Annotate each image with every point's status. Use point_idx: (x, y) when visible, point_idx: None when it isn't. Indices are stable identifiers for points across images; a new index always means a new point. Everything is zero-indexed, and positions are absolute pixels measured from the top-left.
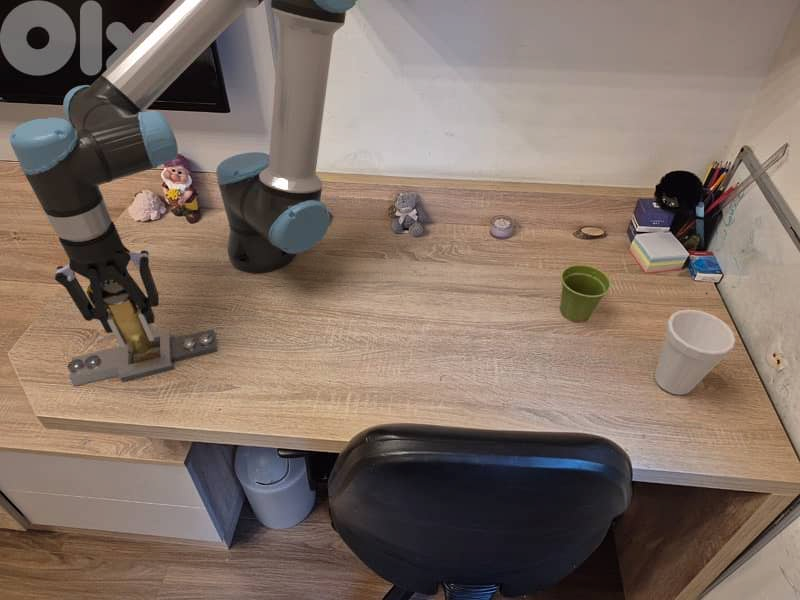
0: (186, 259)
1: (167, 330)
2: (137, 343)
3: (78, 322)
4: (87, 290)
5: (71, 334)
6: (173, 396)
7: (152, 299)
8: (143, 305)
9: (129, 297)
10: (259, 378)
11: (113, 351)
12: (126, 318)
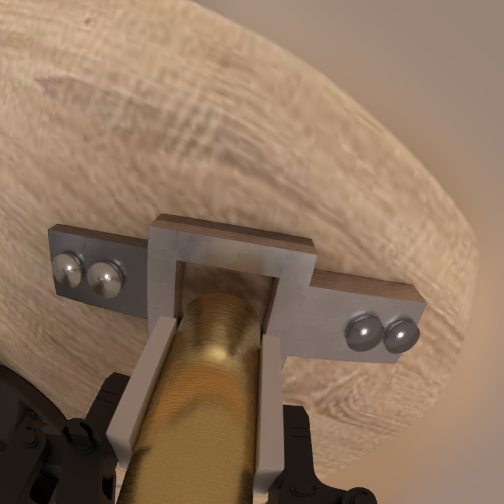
0: None
1: None
2: (214, 325)
3: (339, 432)
4: None
5: (360, 414)
6: (180, 103)
7: (20, 462)
8: (73, 465)
9: None
10: (3, 96)
11: (305, 345)
12: (180, 451)
